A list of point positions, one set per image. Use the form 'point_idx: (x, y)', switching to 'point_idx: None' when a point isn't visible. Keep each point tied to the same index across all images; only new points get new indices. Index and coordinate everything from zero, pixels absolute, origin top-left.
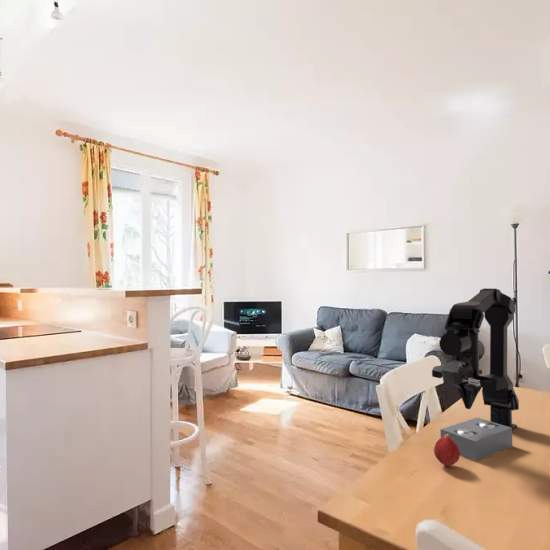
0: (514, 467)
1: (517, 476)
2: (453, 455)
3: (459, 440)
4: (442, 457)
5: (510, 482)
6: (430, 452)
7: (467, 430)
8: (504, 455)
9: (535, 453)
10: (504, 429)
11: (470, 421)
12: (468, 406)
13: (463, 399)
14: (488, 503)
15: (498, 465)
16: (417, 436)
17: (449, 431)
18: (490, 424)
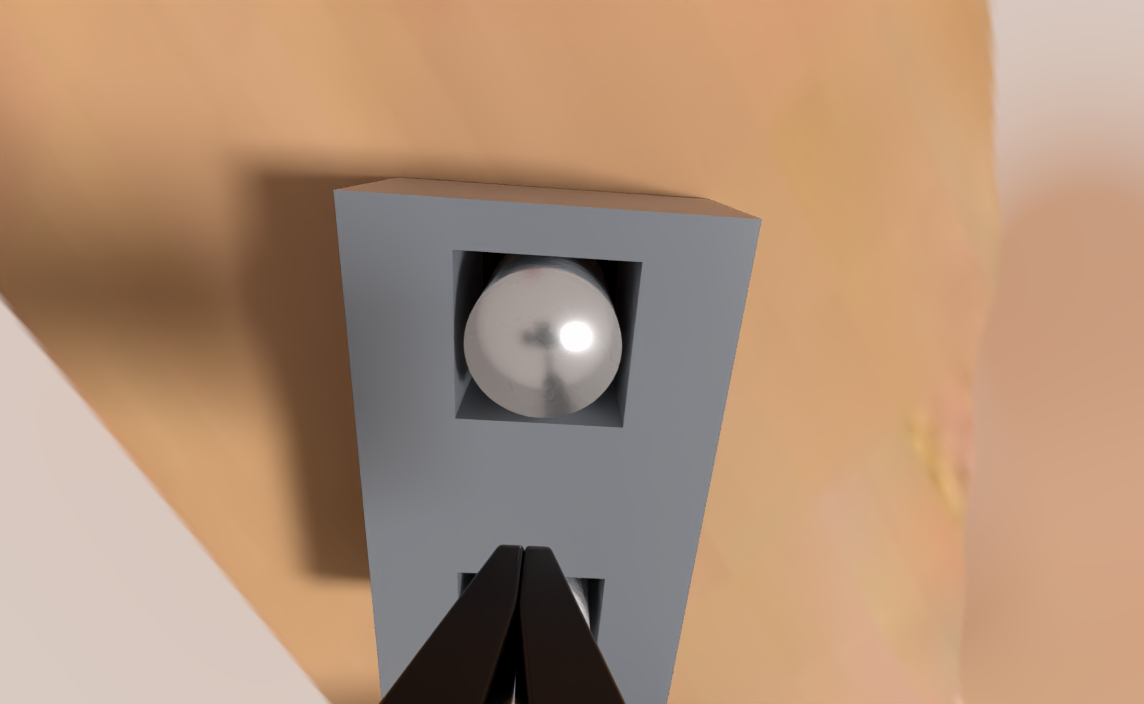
0: (202, 307)
1: (89, 181)
2: None
3: (526, 198)
4: None
5: (27, 30)
6: (721, 22)
7: (543, 387)
8: None
9: (287, 585)
10: (389, 637)
11: (657, 606)
12: (483, 571)
13: (570, 664)
14: None
15: (272, 250)
16: (957, 252)
17: (659, 235)
18: None
